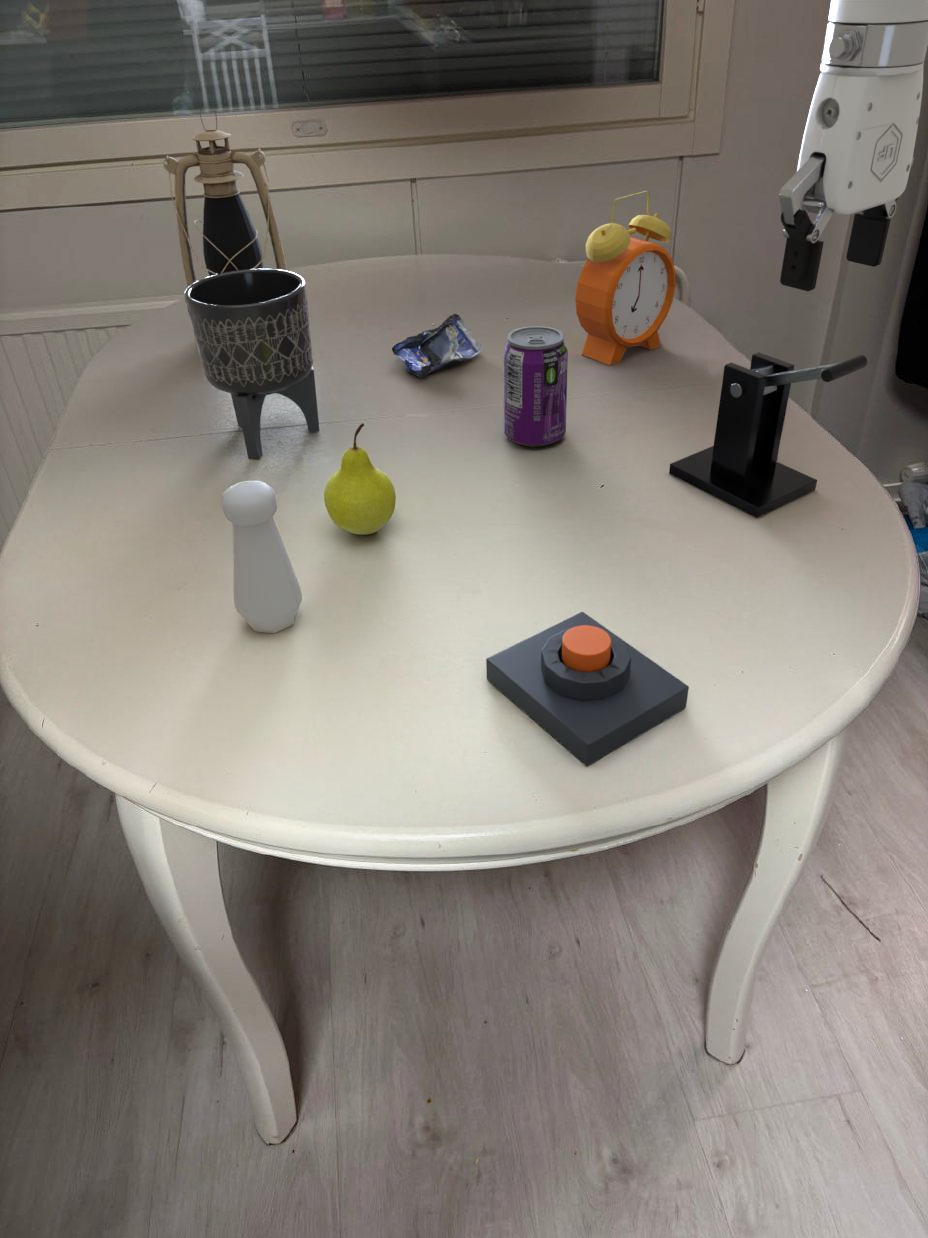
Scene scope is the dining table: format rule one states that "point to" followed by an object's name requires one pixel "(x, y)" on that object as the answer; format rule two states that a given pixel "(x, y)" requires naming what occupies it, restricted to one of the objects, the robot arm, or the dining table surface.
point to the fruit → (359, 493)
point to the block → (586, 691)
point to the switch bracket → (747, 445)
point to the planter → (255, 342)
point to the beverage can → (535, 385)
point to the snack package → (437, 347)
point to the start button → (586, 648)
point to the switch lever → (811, 373)
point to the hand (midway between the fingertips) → (830, 274)
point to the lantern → (223, 208)
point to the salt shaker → (260, 559)
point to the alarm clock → (625, 287)
